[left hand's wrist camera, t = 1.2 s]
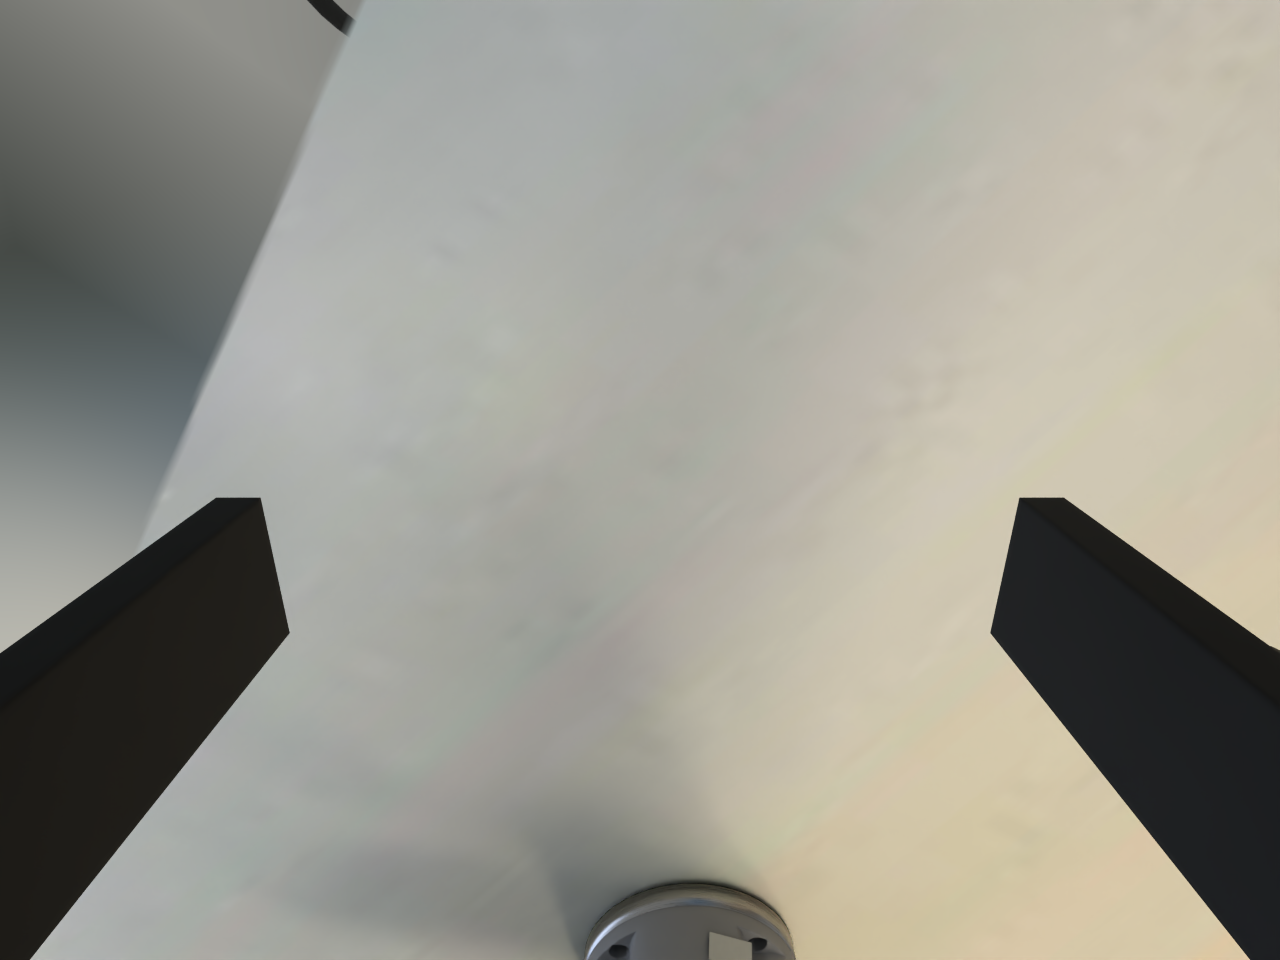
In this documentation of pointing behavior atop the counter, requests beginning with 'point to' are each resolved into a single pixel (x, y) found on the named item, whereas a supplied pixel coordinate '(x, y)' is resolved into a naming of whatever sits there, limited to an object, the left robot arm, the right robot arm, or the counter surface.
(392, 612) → the counter surface
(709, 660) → the counter surface
